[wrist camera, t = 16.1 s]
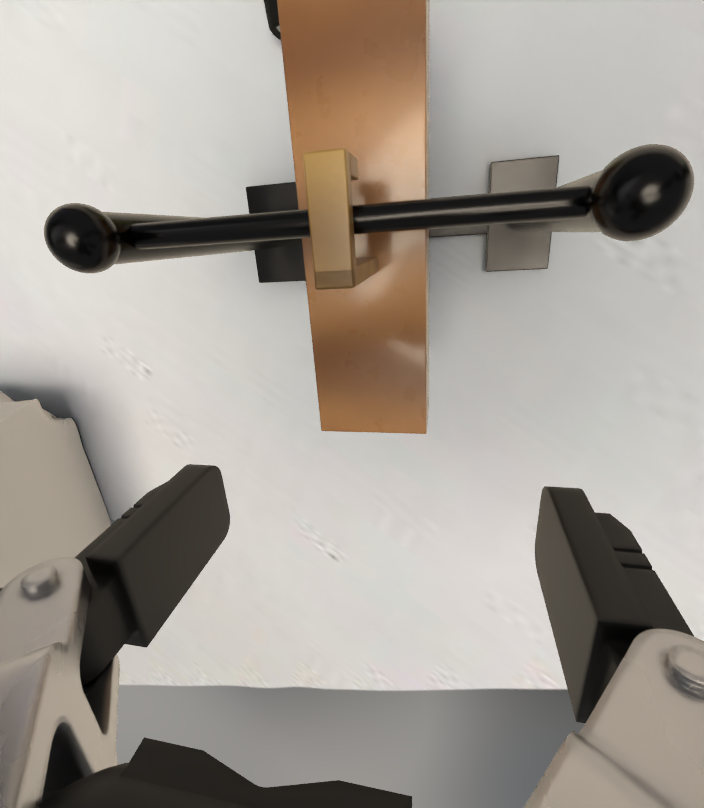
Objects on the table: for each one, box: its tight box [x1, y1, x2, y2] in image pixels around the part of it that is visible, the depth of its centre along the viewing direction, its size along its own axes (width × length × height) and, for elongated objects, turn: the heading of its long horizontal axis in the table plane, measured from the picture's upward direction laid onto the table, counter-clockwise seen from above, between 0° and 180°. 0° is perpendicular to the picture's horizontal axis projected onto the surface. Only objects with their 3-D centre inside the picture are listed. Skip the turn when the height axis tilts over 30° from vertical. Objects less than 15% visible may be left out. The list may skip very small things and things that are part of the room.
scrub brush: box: [277, 0, 429, 434], centre depth 17 cm, size 18×5×11 cm, turn 4°
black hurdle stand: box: [44, 144, 694, 283], centre depth 19 cm, size 6×19×18 cm, turn 94°
